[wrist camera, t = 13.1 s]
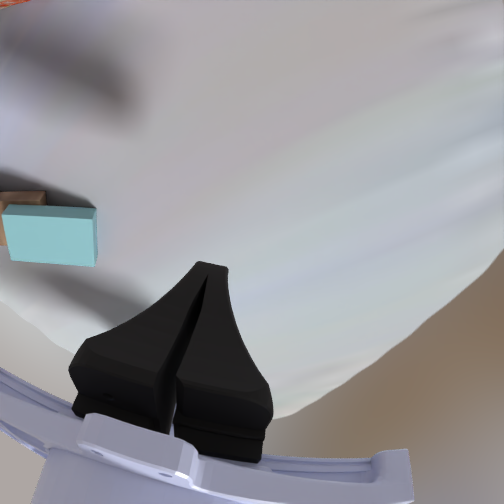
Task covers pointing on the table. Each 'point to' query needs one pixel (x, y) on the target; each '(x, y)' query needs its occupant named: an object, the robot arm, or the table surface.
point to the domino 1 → (20, 198)
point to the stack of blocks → (10, 3)
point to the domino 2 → (51, 234)
